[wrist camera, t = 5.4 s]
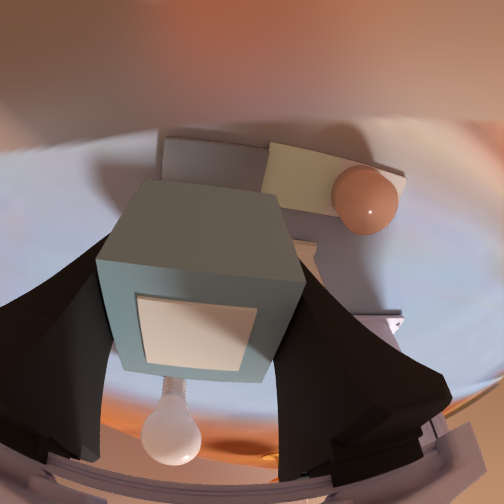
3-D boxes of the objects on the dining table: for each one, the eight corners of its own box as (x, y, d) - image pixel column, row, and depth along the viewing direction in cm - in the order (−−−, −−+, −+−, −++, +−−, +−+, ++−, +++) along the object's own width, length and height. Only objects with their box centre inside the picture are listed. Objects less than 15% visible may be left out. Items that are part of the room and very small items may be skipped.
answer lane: (385, 224, 19) (387, 226, 19) (256, 201, 18) (256, 204, 17) (405, 177, 17) (407, 178, 17) (270, 141, 15) (270, 142, 15)
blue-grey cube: (251, 290, 13) (261, 385, 9) (145, 278, 13) (120, 371, 8) (275, 194, 11) (307, 285, 6) (143, 178, 10) (90, 261, 6)
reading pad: (252, 222, 18) (252, 226, 18) (161, 211, 17) (159, 215, 17) (268, 149, 16) (269, 152, 15) (166, 136, 15) (164, 138, 14)
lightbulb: (141, 362, 27) (128, 454, 18) (197, 362, 28) (194, 460, 19) (157, 388, 31) (150, 467, 22) (206, 388, 31) (206, 471, 22)
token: (368, 226, 19) (380, 241, 17) (321, 210, 18) (329, 225, 16) (393, 178, 17) (408, 189, 15) (345, 156, 16) (358, 165, 14)
